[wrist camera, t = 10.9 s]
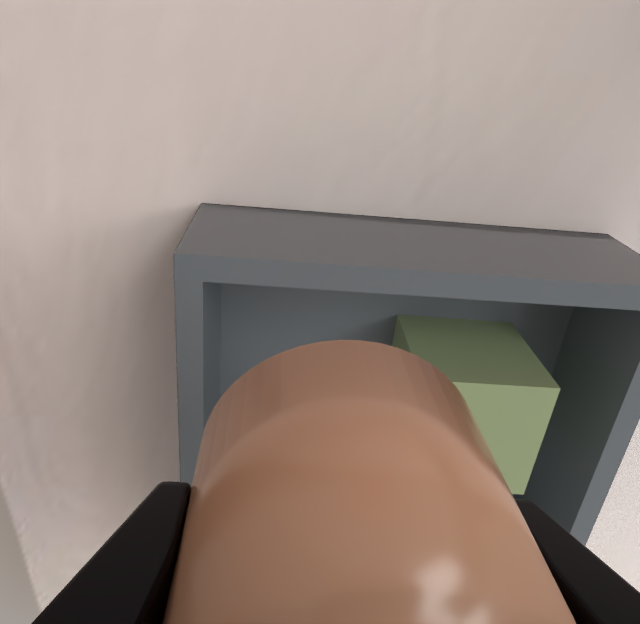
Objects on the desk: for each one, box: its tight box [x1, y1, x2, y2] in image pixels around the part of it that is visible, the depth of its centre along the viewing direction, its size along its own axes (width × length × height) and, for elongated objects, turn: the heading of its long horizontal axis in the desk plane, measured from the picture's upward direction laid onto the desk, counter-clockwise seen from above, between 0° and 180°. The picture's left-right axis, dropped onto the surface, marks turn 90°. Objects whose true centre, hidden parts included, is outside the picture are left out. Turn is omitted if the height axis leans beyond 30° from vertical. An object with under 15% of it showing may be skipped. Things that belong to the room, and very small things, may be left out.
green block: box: [392, 315, 561, 495], centre depth 18 cm, size 4×4×4 cm
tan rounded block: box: [162, 340, 576, 624], centre depth 7 cm, size 4×4×4 cm
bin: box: [173, 203, 640, 546], centre depth 19 cm, size 13×13×4 cm
